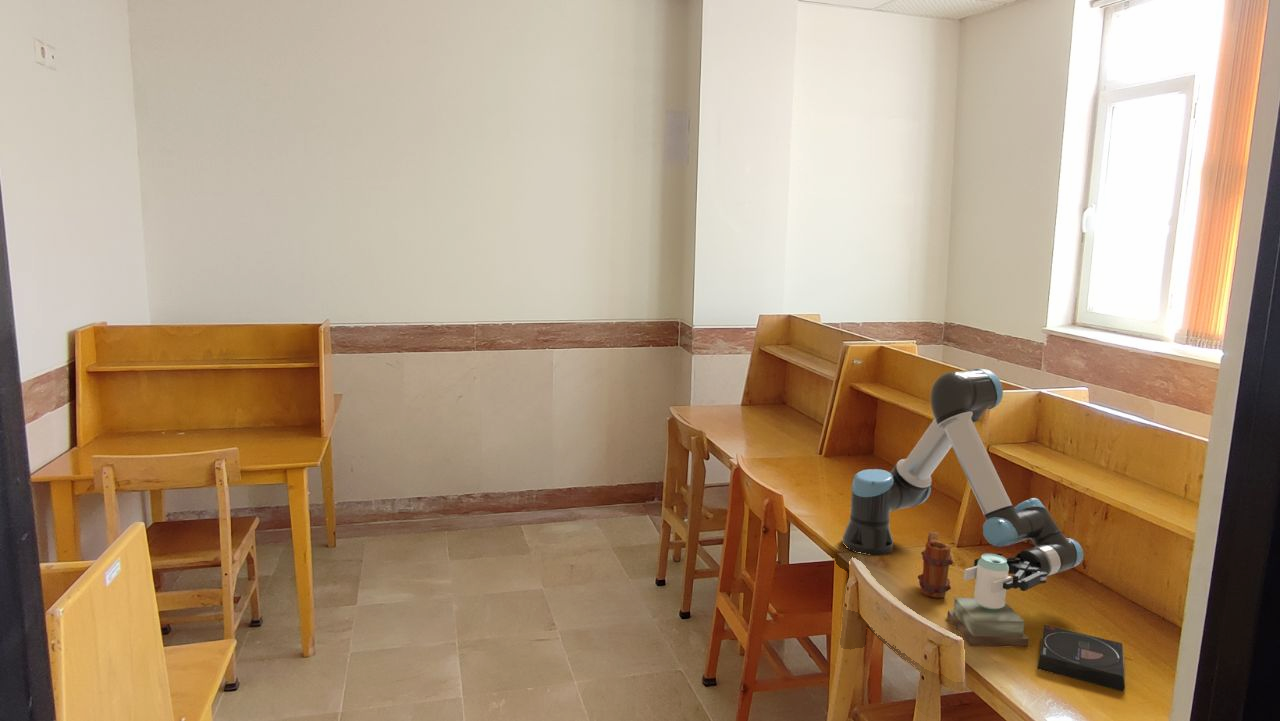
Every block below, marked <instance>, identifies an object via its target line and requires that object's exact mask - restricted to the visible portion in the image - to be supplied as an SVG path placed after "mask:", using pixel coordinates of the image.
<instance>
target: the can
mask: <svg viewBox="0 0 1280 721" xmlns="http://www.w3.org/2000/svg"><path fill="white" fill-rule="evenodd" d="M1002 556H1003V555H1002ZM1002 556H999V555H996V554H995V553H983V554H982V555H981V557H980V558H981V559H980V560H979V561H978V564H977V574H976V578H975V584H974V595H973V598H974V601H975V602H976V603H978V605H980V606H982V607H984V608H987V609H1000V608H1002V607H1004V606H1005V602H1006V600H1007V599H1006V598H1007V590H1006V589H1005V590H1002V591H999V592H996V593H992V592H991V586H992V581H995V580H998V579H1001V578H1005V577H1008V576H1009V574H1008V573H1009V566H1008V564H1007V560H1006V559H1007V558H1006V557H1004V556H1003V557H1002ZM1005 558H1006V559H1005Z"/></svg>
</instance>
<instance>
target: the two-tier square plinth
mask: <svg viewBox="0 0 1280 721" xmlns="http://www.w3.org/2000/svg"><path fill="white" fill-rule="evenodd" d="M953 603H954V604H953V610H950V609H949V610H947V614H946V615H947V617H946V619H948V621H949V620H950V621H951V622H952V623H951V622H950V621H949V622H950V623H951V624H952V625H954V626H955V627H956V628H955V627H954V626H953V627H954V628H955V630H956V631H957V632H958V631H959V632H960V633H959V632H958V633H959V634H960V635H961V634H962V635H961V637H962V636H963V637H962V638H963V639H964V641H965V642H966V643H967V644H968V645H969V647H1003V646H1020V647H1019V648H1023V647H1022V646H1025V647H1024V648H1029V641H1030V639H1029V638H1028V636H1026V635H1025V634H1024V630H1025V620H1024V619H1023V618H1022V617H1021V616H1020V615H1019V614H1018V613H1017V612H1016V611H1015V610H1014V609H1013V608H1012V607H1011V606H1010V605H1009V604H1008V603H1007V602H1006V601H1005V606H1004V607H1002V608H1000V609H987V608H984V607H982V606H980V605H978V603H976V602H975V601H974V597H954V602H953Z"/></svg>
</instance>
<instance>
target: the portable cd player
mask: <svg viewBox="0 0 1280 721" xmlns="http://www.w3.org/2000/svg"><path fill="white" fill-rule="evenodd" d="M1038 657H1039V658H1038V663H1037V664H1038V665H1037V670H1039V669H1041V670H1040V671H1043V670H1044V671H1043V672H1047V671H1048V672H1047V673H1051V672H1052V673H1051V674H1056V675H1058V676H1062V677H1065V678H1066V677H1067V678H1070V679H1074V680H1077V681H1082V682H1086V683H1091V684H1093V685H1098V686H1100V687H1105V688H1108V689H1112V690H1116V691H1119V692H1120V691H1121V692H1123V691H1124V690H1125V689H1126V684H1125V683H1126V680H1125V655H1124V648H1123V643H1122V642H1118V641H1115V640H1109V639H1106V638H1101V637H1098V636H1095V635H1093V636H1092V635H1090V634H1084V633H1081V632H1075V631H1072V630H1068V629H1065V628H1064V629H1063V628H1059V627H1056V626H1052V625H1048V624H1044V626H1043V631H1042V637H1041V644H1040V650H1039V655H1038Z"/></svg>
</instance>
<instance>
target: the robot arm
mask: <svg viewBox="0 0 1280 721" xmlns="http://www.w3.org/2000/svg"><path fill="white" fill-rule="evenodd" d="M930 389H931V390H930V395H929V396H930V397H929V399H930V407H931V411H932V414H933V415H932V416H933V417H934V419H933V420H932V422H931V423H930V425H929V426H928V427H927V429H926V430H925V432H924V433H923V434H922V436H921V437H920V439H918V442H917V443H916V444H915V446H914V447H913V449H912V450H911V452H910V453H909V454H908V455H907V457H906V458H901V459H899V460H898V461H897V463H896V464H895V465H894V467H893V468H892V469H891V471H888V470H884V469H881V468H879V469H878V468H873V469H871V468H870V469H869V468H868V469H863V470H860V471H858V472H857V473H856V474H854V476H853V479H852V480H853V481H852V485H851V500H850V513H849V514H850V515H849V521H848V523H847V526H846V528H845V530H844V533H843V535H842V542H843V543H844V544H845V545H846V546H847V547H848V548H850V549H851V550H854V551H856V552H861V553H866V554H870V555H869V556H885V555H888V554H890V553H892V552H893V550H894V541H893V540H894V539H893V536H892V533H891V531H892V530H891V528H890V516H891V515H890V514H891V512H894V511H897V510H902V509H906V508H907V509H908V508H913V507H916V506H920V505H922V504H923V503H925V501H927V499H929V497H930V495H931V491H932V488H931V486H932V474H933V473H934V471H935V470H936V469H937V468H938V466H939V465H940V464H941V462H942V461H943V460H944V458H945V457H946V455H947V454H948V453H949V451H950V450H951V448H952V449H953V452H954V453H955V455H956V458H957V460H958V462H959V465H960V466H961V468H962V471H963V473H964V474H965V477H966V479H967V481H968V483H969V486H970V488H971V489H972V492H973V495H974V496H975V498H976V499H975V500H977V503H978V505H979V507H980V509H981V511H982V512H981V513H983V516H984V518H985V521H984V523H983V525H982V534H983V535H982V536H984V539H985V540H986V541H987V542H988V543H989V544H990V545H992V546H995V547H998V548H999V547H1005V546H1006V547H1007V546H1012V545H1013V546H1014V544H1017V543H1020V542H1024V541H1028V540H1030V541H1031V542H1032V543H1033V545H1034V546H1033V547H1030V548H1027V549H1023V550H1021V551H1019V552H1018V553H1017V555H1015V557H1008V558H1006V557H1004V556H1003V554H1002V553H1000V552H999V553H996V554H995V555H999V556H1002V557H1004V558H1005V559H1006V560H1007V564H1008V566H1009V573H1008V577H1005V578H1001V579H998V580H995V581H992V586H991V592H992V593H996V592H999V591H1002V590H1005V589H1006V591H1007V590H1010V589H1011V590H1012V589H1019V590H1020V591H1022V592H1026V591H1027V590H1030V589H1032V588H1034V587H1036V586H1038V585H1041V584H1046V583H1047V578H1048V576H1052V575H1055V574H1057V573H1061V572H1064V571H1068V570H1070V569H1072V568H1075V567H1077V566H1079V565H1080V564H1081V563H1082V561H1083V559H1084V549H1083V548H1082V545H1080V543H1079V542H1078V541H1076V540H1075V539H1073V538H1068V537H1066V536H1065V535H1064V533H1063V532H1062V531H1061V530H1060V528H1059V526H1058V525H1057V523H1056V522H1055V520H1054V519H1053V517H1052V515H1051V513H1050V512H1049V510H1048V508H1046V507H1045V506H1044V504H1043V503H1042V501H1041V500H1040V499H1038V498H1037V497H1032V498H1029V499H1027V500H1024V501H1022V502H1020V503H1018V504H1017V505H1015V506H1013V504H1012V502H1011V499H1010V497H1009V496H1008V494H1007V491H1006V490H1005V487H1004V485H1003V483H1002V481H1001V478H1000V476H999V474H998V473H997V470H996V468H995V466H994V464H993V461H992V459H991V457H990V455H989V453H988V451H987V449H986V446H985V445H984V443H983V441H982V438H981V436H980V435H979V432H978V430H977V428H976V425H975V424H976V423H977V422H978V421H979V420H980V419H981V418H982V416H983V415H984V413H985V412H986V411H987V410H993V409H994V408H996V407H997V406H999V405H1000V403H1001V401H1002V399H1003V396H1004V390H1003V384H1002V382H1001V380H1000V378H999V377H998V376H997V374H995V373H994V372H993V371H991V370H989V369H985V368H973V369H966V370H957V371H949V372H945V373H944V374H942V375H940V376H939V377H937V379H935V381H934V382H933V384H932V386H931V388H930ZM843 543H842V544H843ZM851 550H850V551H851ZM856 552H855V553H856ZM884 554H885V555H884ZM980 559H981V557H980V558H974V562H973V566H972V565H971V566H970V567H968V568H967V567H966V568H965V569H964V572H963V573H964V574H963V580H964V581H965V582H966V581H969V580H970V581H971V580H973V579H976V574H977V564H978V561H979V560H980ZM1012 574H1013V575H1012ZM1011 575H1012V576H1011Z"/></svg>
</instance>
